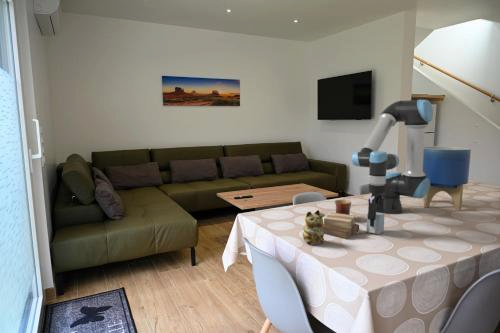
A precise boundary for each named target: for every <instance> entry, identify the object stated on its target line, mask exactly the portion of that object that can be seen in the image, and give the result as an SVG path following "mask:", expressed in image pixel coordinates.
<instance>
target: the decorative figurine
mask: <svg viewBox="0 0 500 333" xmlns="http://www.w3.org/2000/svg"><path fill="white" fill-rule="evenodd" d="M325 217H326V215H325V213H324V212H320V210H319V209H315V211H313V213H312V212H311V211H307V212H306V214H305V217H304V221H305V225H304V226H303V228H302V230H303V231H302V237H303V240H304V241H305V242H306V243H309V245H310V246H311V245H320V244H321V241H322V242H323V241H325V238H324V236H325V234H324V232H323V231H322V230H320V228H321V227H322V226H323V224H324V218H325Z"/></svg>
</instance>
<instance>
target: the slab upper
mask: <svg viewBox="0 0 500 333" xmlns="http://www.w3.org/2000/svg"><path fill="white" fill-rule="evenodd" d="M323 224H324V227H329V228H335V229H341V230H348V231H350V229H351V228H352V227H353V226H354V224H356V215H354V214H350V215H347V214H340V213H336V212H329V214H328V215H327V216H324V217H323Z"/></svg>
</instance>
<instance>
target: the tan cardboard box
mask: <svg viewBox="0 0 500 333" xmlns="http://www.w3.org/2000/svg"><path fill="white" fill-rule="evenodd" d="M320 230H322V231H323V232H324V235H328V236H332V237H335V238H338V239H343V240H348V239H349V238H351V237H353V236H355V235H357V233H360V224H357V223H355V224H354V226H353V227H352V228H351V229H350V231H348V230H341V229H335V228H329V227H324V223H323V226H322V227H321V228H320Z"/></svg>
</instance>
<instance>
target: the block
mask: <svg viewBox="0 0 500 333" xmlns="http://www.w3.org/2000/svg"><path fill="white" fill-rule="evenodd" d="M375 220H376V232H375V233H373V234H375V235H380V234H382V233H383V232H384V231H385V230H384V229H385V213H379V212H376V217H375ZM369 226H370V219H368V213H367V214H366V233H369V234H372V233H371V232H369Z"/></svg>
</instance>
